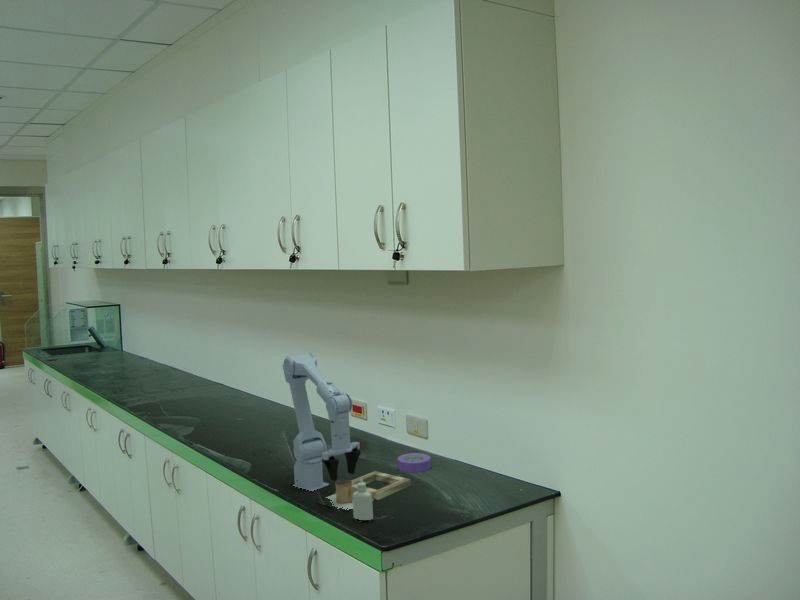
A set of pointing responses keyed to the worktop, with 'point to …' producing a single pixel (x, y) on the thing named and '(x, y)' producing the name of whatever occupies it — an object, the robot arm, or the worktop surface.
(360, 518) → the eye dropper bottle
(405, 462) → the masking tape
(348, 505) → the mat
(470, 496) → the worktop surface
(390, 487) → the holder
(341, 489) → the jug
